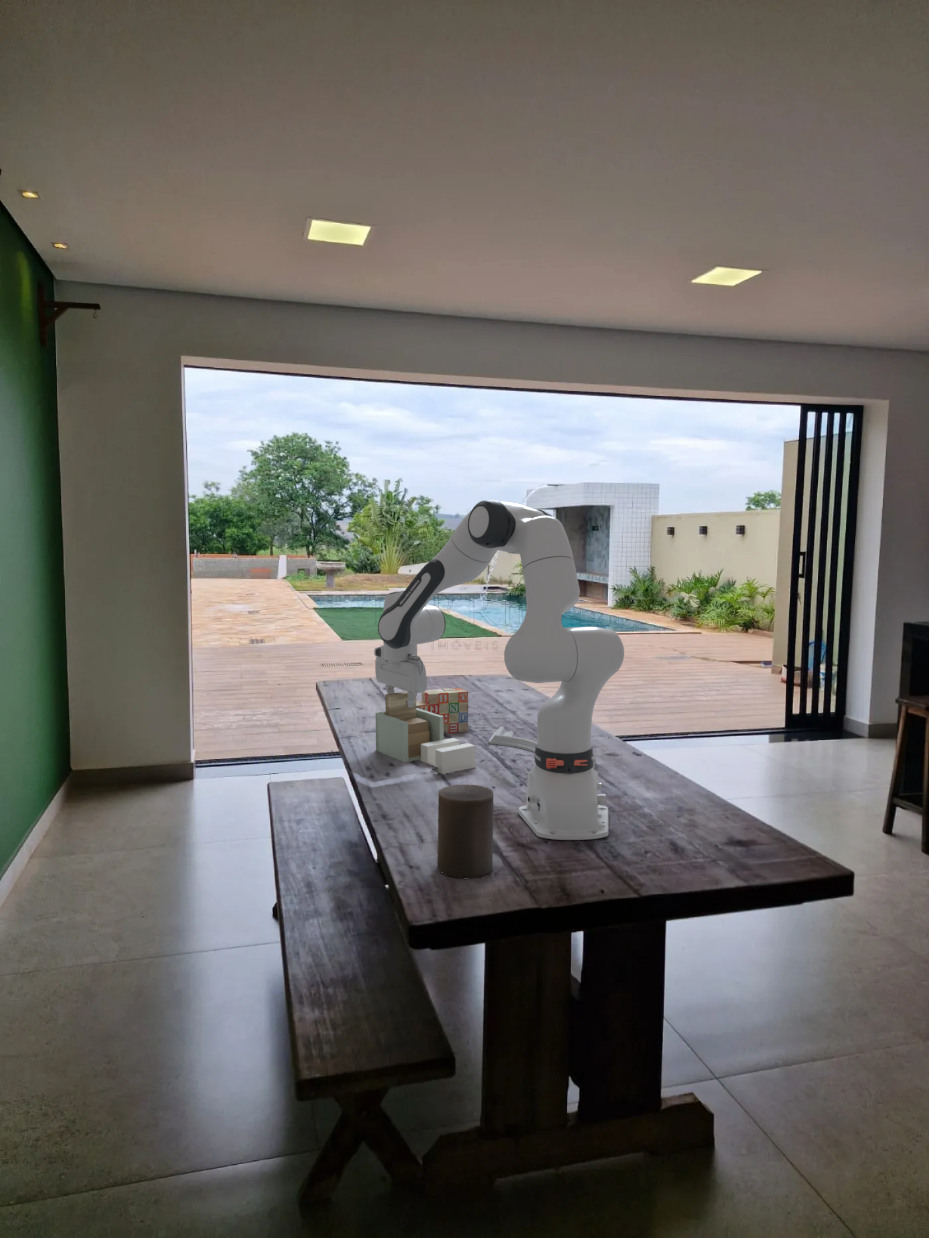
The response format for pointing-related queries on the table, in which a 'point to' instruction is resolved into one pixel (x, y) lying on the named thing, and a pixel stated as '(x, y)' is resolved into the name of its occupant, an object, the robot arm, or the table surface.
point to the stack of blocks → (447, 707)
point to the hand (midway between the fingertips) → (401, 704)
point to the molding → (515, 741)
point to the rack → (407, 734)
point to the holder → (448, 755)
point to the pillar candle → (465, 831)
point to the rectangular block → (399, 706)
